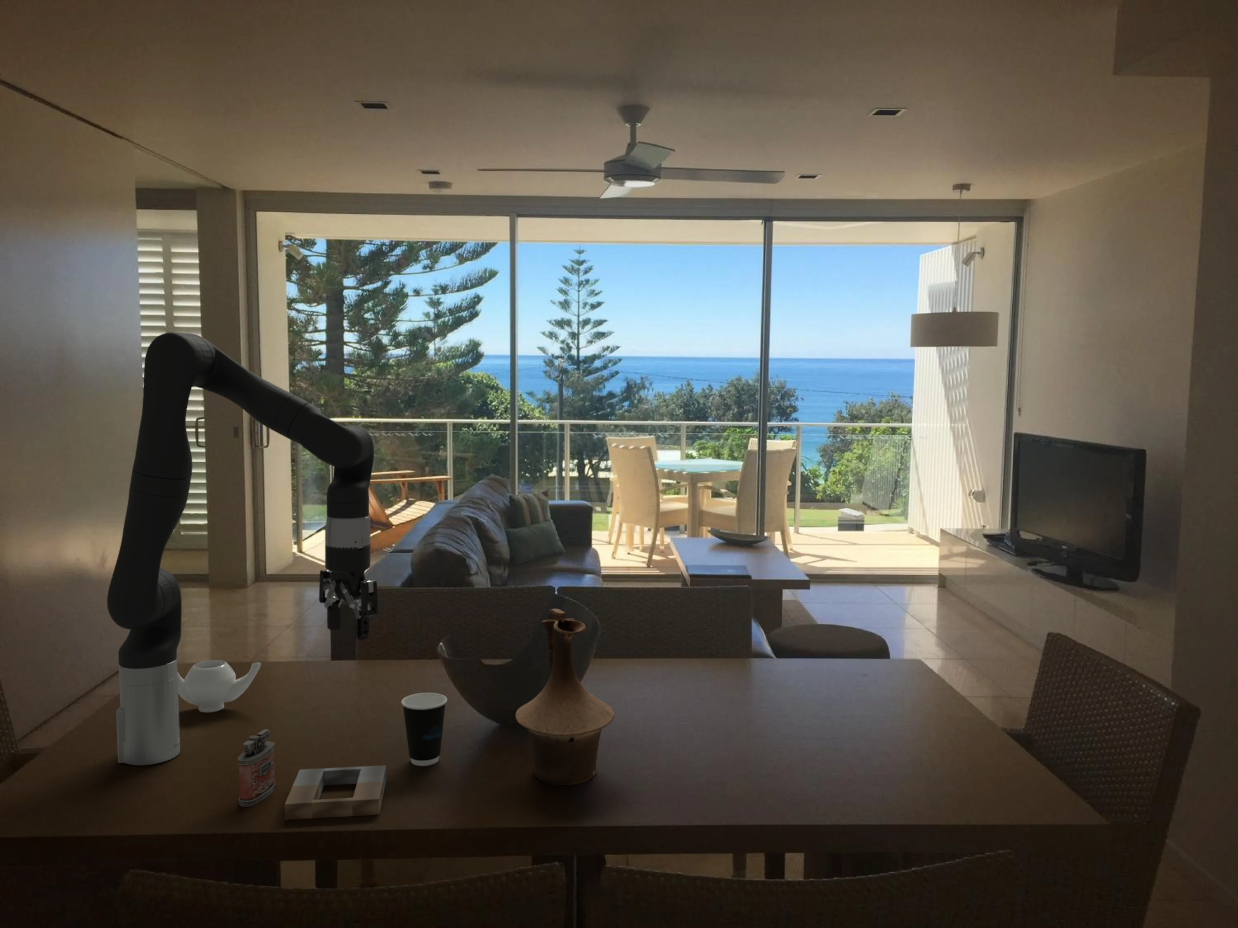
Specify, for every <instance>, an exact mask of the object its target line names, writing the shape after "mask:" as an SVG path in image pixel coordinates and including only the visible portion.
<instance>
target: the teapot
mask: <svg viewBox="0 0 1238 928" xmlns="http://www.w3.org/2000/svg"><path fill="white" fill-rule="evenodd" d="M261 666H262V662H259V661H258V662H253V663H252V662H251V666H250V669H249V671H248V672H247V674H245V675H243V676H242V677H240V678H237V677H236V676H237V675H236V673H235V671H234V670H233V668H232V667H231V665H229V663H228V662H226V661H225V660H222V659H208V660H203V661H198V662H197V663H194V664H193V665H192V666H191V668H190V669H189V670H188V672H187V674H186V676H185V678H183V677H182V676H181V675H180V673H179V672H178V671H177V674H178V696H180V697H181V698H182V699H183V700H184V701H185V702H187V703H189V704H191V705H193V706H198V711H199V712H201V713H214V712H218V711H221V710H223V709H224V708H225V703H230V702H232V701H235V700H236V699H238V698H239V697H240V696H242V694H243V693H245V691H246V690H247V689H248V688H249V686H250V685H251V683H252V682H253V680H254V679H255V677H256V676H257V674H258V672H259V671H260V669H261Z"/></svg>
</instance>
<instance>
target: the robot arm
mask: <svg viewBox="0 0 1238 928" xmlns="http://www.w3.org/2000/svg"><path fill="white" fill-rule="evenodd" d="M196 387H197V388H199V389H202V390H205V391H208V392H211V393H213V394H216V395H219V396H221V397H223V398H225V399H227V400H229V401H231V402H232V403H233V404H236V405H238V406H239V407H240V408H241V409H242V410H244V411H245V412H246V413H247V414H248V415H249V416H251V417H252V418H253V419H254V420H256V421H257V422H258V423H260V424H261V425H263V426H264V427H266V428H267V429H269V430H271V431H273V432H274V433H277V434H279V435H280V436H283V437H284V438H287V439H288V440H290V441H293V442H295V443H297V444H299V445H300V446H302V448H304V449H305V450H306V451H308V452H309V453H311V454H312V455H313V456H314V457H316V458H318V459H319V460H320V461H322V462H324V463H325V464H328V465H329V466H332V467H333V476H332V481H331V482H330V484H329V485H328V486H327V491H326V521H325V526H324V527H325V528H324V530H325V531H324V546H325V547H324V562H325V563H324V566H325V568H324V569H321V570H320V571H319V589H318V590H319V592H318V601H319V603H320V604H324V607H325V609H326V623H327V624H326V626H327V629H328V630H329V631H334V630H338V629H340V628H341V607H340V606H341V604H342V603H343V601H345V602H346V603H347V605H348V607H349V608H351V609H352V611H353V613H354V616H355V618H354V638H355V640H358V641H362V640H366V639H367V640H368V638H369V634H370V631H369V630H370V618H371V617H372V616H377V615H378V613H379V611H378V609H379V607H378V605H379V604H378V583H377V580H376V579H373V580H367V579H366V576H365V572H366V571H367V570H369V569H370V567H371V522H370V493H369V491H370V490H369V489H370V485H371V479H372V472H373V468H374V467H373V466H374V460H375V459H374V458H375V447H374V445H375V444H374V441H373V438H372V436H371V434H370V432H369V431H368V430H367V429H366V428H364V427H363V426H359V425H356V424H351V425H350V424H349V425H345V426H344V425H343V424H341V423H338V422H336V421H334V420H333V419H331V418H330V417H328V416H325V415H324V412H323V411H322V410H321V409H320V408H318V407H317V406H316V405H314V404H312V403H310V402H308V401H307V400H305V399H302V398H301V397H299V396H297V395H295V394H293V393H292V392H289V391H287V390H286V389H283V388H282V387H280V386H277V385H275V384H274V383H272V382H270V381H268V380H265V379H264V378H262V377H261V376H259V375H257V374H255V373H254V372H252V371H251V370H249V369H247V368H246V367H244V366H243V365H241V364H240V363H238V362H237V361H236V360H234V359H233V358H231V357H230V356H228V355H227V354H226V353H224V352H223V351H222V350H220V349H219V348H218V347H217V346H216V345H214V344H213V343H211V342H210V341H209V340H208V339H206V338H204V337H203V336H201V335H198V334H194V333H191V332H190V333H188V332H186V333H185V332H165V333H162V334H160V335H158V336H156V337H155V338H154V339H153V340H152V341H151V342H150V344H149V345H148V348H147V350H146V352H145V358H144V366H143V387H142V389H143V391H142V409H141V416H140V417H141V418H140V423H139V427H138V428H139V429H138V435H137V443H136V448H135V449H136V450H135V456H134V460H133V466H132V469H131V470H132V471H131V478H130V483H129V488H128V489H129V490H128V500H127V507H126V510H125V511H126V512H125V517H124V523H123V528H122V530H123V531H122V535H121V541H120V545H119V550H118V554H117V558H116V562H115V565H114V567H113V573H112V575H111V576H112V577H111V578H110V583H109V586H108V589H107V590H108V591H107V595H106V596H107V598H106V604H107V605H106V606H107V612H108V613H109V615H110V617H111V619H112V621H113V622H114V623H115V624H116V625H117V626H119V627H120V628H122V629H126V630H129V632H128V635H127V636H126V639H125V640H124V642H123V643H122V644H121V646H120V647H119V649H118V653H117V654H118V675H119V677H118V678H119V681H118V682H119V698H120V700H119V701H120V706H119V707H118V708H117V709H116V711H115V713H116V714H115V715H116V735H117V736H116V737H117V738H116V743H117V763H118V764H128V765H132V766H150V765H156V764H160V763H164V762H167V761H169V760H172V759H174V758H175V757H177V756H178V755H179V754H180V752H181V738H180V710H179V709H180V707H179V706H180V705H179V703H180V702H179V694H178V674H177V672H178V647H179V645H180V641H181V638H182V611H183V610H182V594H181V588H180V585H179V583H178V580H177V579H176V578H175V576H174V575H173V574H172V573H171V572H170V571H168V570H166V569H164V568H161V564H162V563H161V562H162V558H163V554H164V552H165V551H164V550H166V549H165V548H166V546H167V544H168V542H169V540H170V537H171V536H172V534H173V533H174V530H175V528H176V527H177V525H178V523H179V521H180V519H181V518H182V515H183V512H184V510H185V508H186V505H187V502H188V497H189V493H190V487H191V482H192V481H191V480H192V475H193V457H192V451H191V446H190V441H189V438H188V431H187V425H186V424H187V423H186V420H187V409H188V405H189V401H190V400H189V399H190V396H191V392H192V388H196ZM327 590H328V591H327ZM326 591H327V593H326ZM369 603H371V604H370V605H369ZM360 607H361V609H360Z"/></svg>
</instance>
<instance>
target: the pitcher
mask: <svg viewBox="0 0 1238 928" xmlns="http://www.w3.org/2000/svg"><path fill="white" fill-rule="evenodd" d="M541 624H542V626H543V627H544V629H545V630H546V632H547V647H548V660H549V678H548V680H547V682H546V684H545V686H544V687H543V688H542V690H541V691H539V693H538V694H537V695H536V696H535V697H534V698H533V699H531V700H530V701H529V702H527V703H525V704H523V705H522V706H520V707H519V708H518V709H517V710H516V712H515V718H516V721H517V723H518V724H519V725H521V726H522V727H523V728H525V729H527V732H528V737H529V740H530V741H529V742H530V746H531V754H532V760H533V775H534V776H535V777H536V778H537V779H538V780H539V781H541V782H544V783H547V784H552V785H557V786H558V785H559V786H567V785H568V786H570V785H572V786H573V785H577V784H581V783H584V782H587V781H589V780H591V779H592V778H593V777H594V776H595V775H596V773H597V760H598V751H599V744H600V738H601V733H602V730H603V729H604V728H606V727H608V726H609V725H610V724H611V723H612V722H613V720H614V719H615V712H614V709H613V708H612V707H611V706H609V704H608V703H605V702H604V701H602V700H601V699H599V698H597V696H595V695H593V694H592V693H591V692H589V690H587V689H586V688H585V687H584V686H583V685H582V683H581V682H580V680H579V678H578V676H577V672H576V670H575V666H574V660H573V639H574V638H573V637H574V636H576V635H579V634H582V633H584V632H585V630H586V629H587V627H586V625H585V623H583V622H581V621H579V620H576V619H575V618H572V617H567V618H566V612H565V611H563V610H561V609H559V608H551V609H549V610H548V613H547V619H544V620H542V621H541Z"/></svg>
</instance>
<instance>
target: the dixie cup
mask: <svg viewBox="0 0 1238 928" xmlns="http://www.w3.org/2000/svg"><path fill="white" fill-rule="evenodd" d="M447 702H448V698H447V696H446V695H443V694H441V693H437V692H419V693H413V694H410V695H407V696H405V697H404V698H402V700H401V706H402V708H403V716H404V723H405V724H404V725H405V732H406V733H405V734H406V740H407V741H406V742H407V750H408V757H409V758H410V763H411V764H413V765H415V766H420V767H425V766H426V767H427V766H431V765H434V764H437V763H438V762H439V758H440V755H441V753H442V752H441V751H442V741H443V734H444V733H443V731H444V722H445V713H446V712H445V711H446V703H447Z"/></svg>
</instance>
